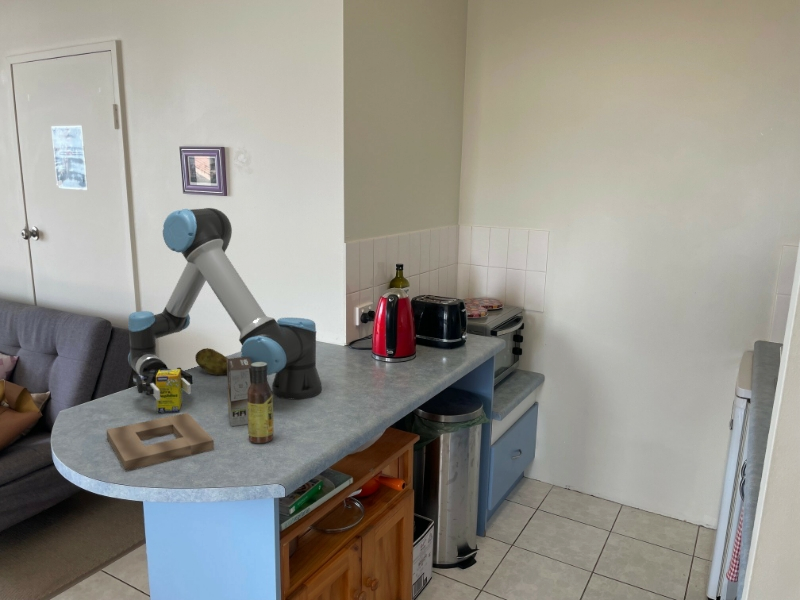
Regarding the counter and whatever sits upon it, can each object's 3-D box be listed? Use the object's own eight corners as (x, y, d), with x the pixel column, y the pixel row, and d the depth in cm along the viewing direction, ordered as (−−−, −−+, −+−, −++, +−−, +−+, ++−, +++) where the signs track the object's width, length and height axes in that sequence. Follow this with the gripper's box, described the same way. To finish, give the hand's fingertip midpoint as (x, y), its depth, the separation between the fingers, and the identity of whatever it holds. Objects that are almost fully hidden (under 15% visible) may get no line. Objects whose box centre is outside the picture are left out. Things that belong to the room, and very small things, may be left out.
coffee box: (255, 423, 161) (255, 368, 157) (231, 426, 158) (229, 370, 154) (250, 409, 169) (250, 356, 165) (227, 411, 167) (225, 358, 162)
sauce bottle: (274, 443, 150) (273, 367, 145) (248, 445, 148) (247, 369, 144) (272, 432, 156) (271, 359, 152) (247, 434, 154) (245, 361, 150)
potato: (218, 380, 193) (217, 356, 192) (191, 372, 200) (190, 349, 198) (237, 373, 200) (237, 350, 199) (211, 366, 207) (210, 344, 205)
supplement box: (157, 414, 165) (155, 376, 163) (160, 405, 171) (158, 369, 169) (180, 412, 167) (178, 375, 164) (182, 404, 172) (180, 368, 170)
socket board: (188, 421, 161) (187, 412, 160) (213, 449, 145) (213, 440, 145) (107, 438, 149) (106, 429, 149) (125, 471, 134) (125, 461, 133)
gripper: (186, 375, 188) (211, 397, 170) (116, 387, 176) (135, 412, 158) (185, 352, 187) (210, 372, 169) (114, 363, 175) (133, 386, 157)
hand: (174, 392), depth 164 cm, fingers closed on supplement box, 8 cm apart
